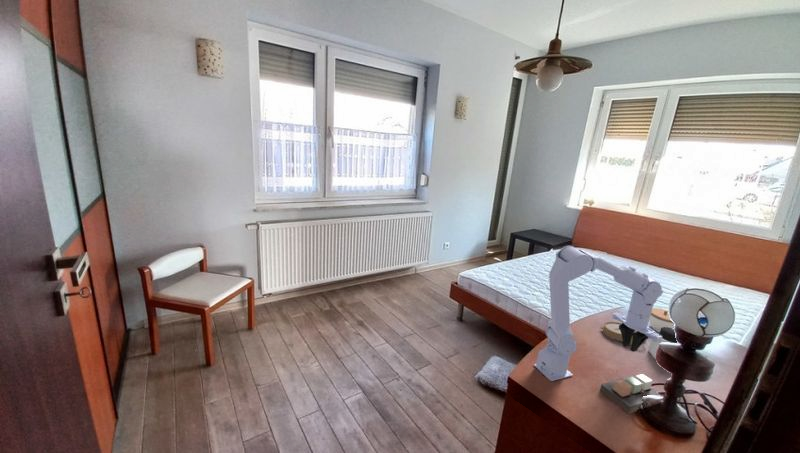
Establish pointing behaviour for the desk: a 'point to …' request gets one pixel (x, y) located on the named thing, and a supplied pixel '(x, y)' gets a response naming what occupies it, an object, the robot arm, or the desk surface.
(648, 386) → the white cube
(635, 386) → the pale green cube
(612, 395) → the console
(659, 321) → the lidded jar
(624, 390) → the peach cube
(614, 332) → the alarm clock
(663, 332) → the medicine bottle
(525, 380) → the desk surface
